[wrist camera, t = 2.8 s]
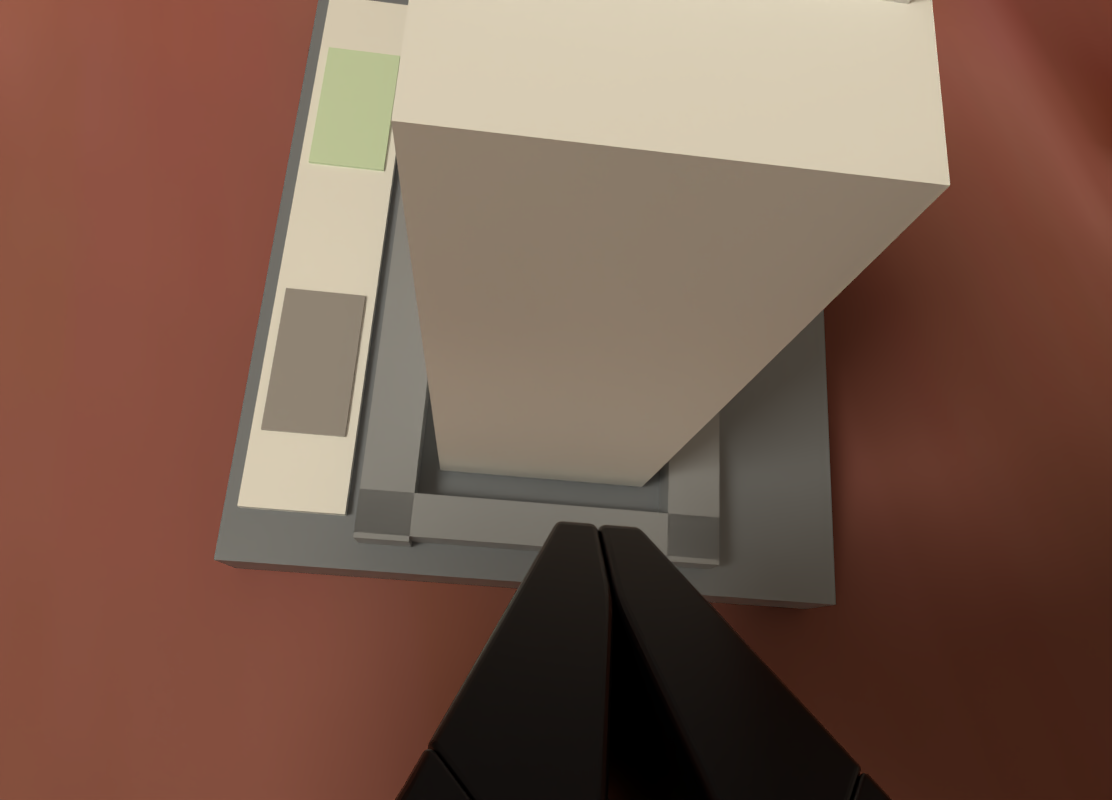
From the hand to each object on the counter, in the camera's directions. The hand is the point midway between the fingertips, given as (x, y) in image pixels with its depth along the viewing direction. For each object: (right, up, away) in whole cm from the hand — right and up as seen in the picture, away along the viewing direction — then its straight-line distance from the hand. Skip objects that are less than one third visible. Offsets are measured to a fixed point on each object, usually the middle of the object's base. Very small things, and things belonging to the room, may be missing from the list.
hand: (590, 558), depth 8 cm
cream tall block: (0, +2, +9) cm, 9 cm away
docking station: (0, +4, +11) cm, 12 cm away
